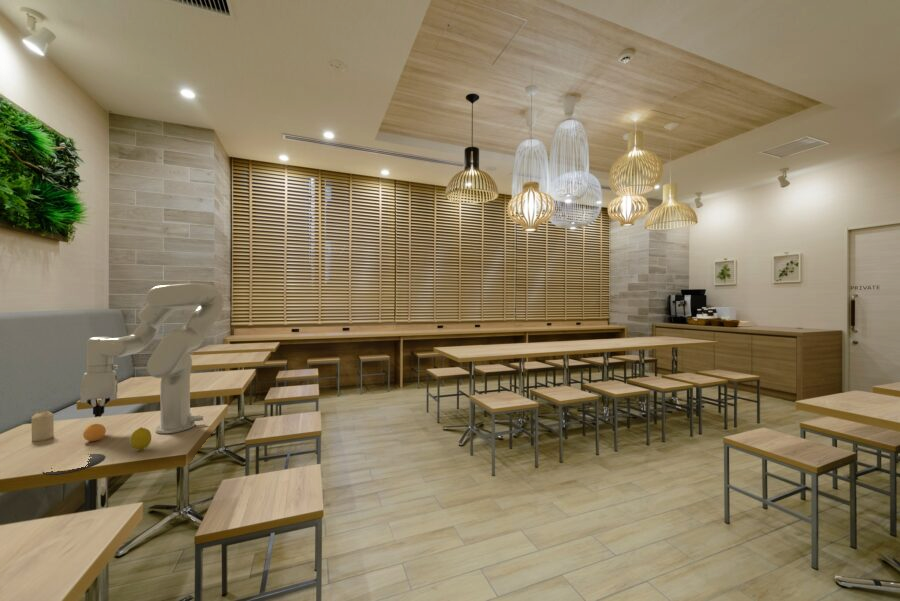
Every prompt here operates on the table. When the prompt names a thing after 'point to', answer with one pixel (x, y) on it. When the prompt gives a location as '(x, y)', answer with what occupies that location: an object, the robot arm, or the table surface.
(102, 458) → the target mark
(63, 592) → the table surface
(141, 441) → the lemon
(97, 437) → the ball
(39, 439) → the candle
